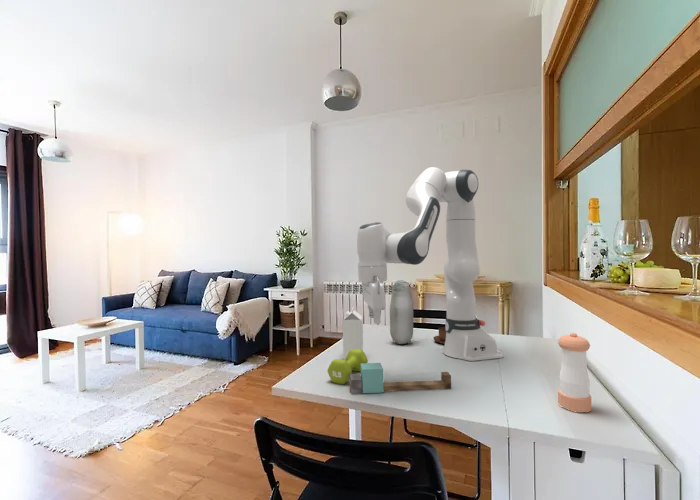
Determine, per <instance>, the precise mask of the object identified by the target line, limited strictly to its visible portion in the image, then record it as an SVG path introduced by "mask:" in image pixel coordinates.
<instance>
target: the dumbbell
mask: <svg viewBox="0 0 700 500" xmlns="http://www.w3.org/2000/svg"><path fill="white" fill-rule="evenodd" d="M361 363H369V362H368V357H367V355H366V353H365V352H364V349H363V350H360V349H351V350H350V351H349V353H348V354H347V356H346V359H345V360H344V359H339V358H334V359H332V361H331V362H330V364H329V366H328V368H327V374H328V376H329V378H330V380H331V382H332V383H334V384H338V385H345V384H346V383H347V382H348V381H350V374H353V372H361ZM352 371H353V372H352Z"/></svg>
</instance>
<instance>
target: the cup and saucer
mask: <svg viewBox="0 0 700 500" xmlns="http://www.w3.org/2000/svg"><path fill="white" fill-rule="evenodd" d="M432 339H433V340H434V342H436V343H439V344H441V345H445V340H446V329H445V327H444V326H442V327H438V335H435V336H433V338H432Z"/></svg>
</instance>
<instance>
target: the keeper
mask: <svg viewBox="0 0 700 500" xmlns="http://www.w3.org/2000/svg"><path fill="white" fill-rule="evenodd" d="M360 376H361V379H362V394H379V393H380V394H381V393H384V391H383V382H384V367H383V366H382V364H381V362H367V363H361V371H360Z"/></svg>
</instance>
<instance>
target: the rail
mask: <svg viewBox="0 0 700 500" xmlns="http://www.w3.org/2000/svg"><path fill="white" fill-rule="evenodd" d="M440 374H441V375H440V377H441V378H440V379H437V380H436V379H435V380H415V381H413V380H411V381H410V380H409V381H406V380H405V381H386V382H385V381H383V392H401V391H402V392H403V391H429V390H448V389H449V390H450V389H451V390H452V375H451V373H449V372H448V371H441V372H440ZM349 392H350V393H351V395H353V394H354V395H359V394H360V395H362V394H363V392H362V379H361V373H352V374H350V378H349Z"/></svg>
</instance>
